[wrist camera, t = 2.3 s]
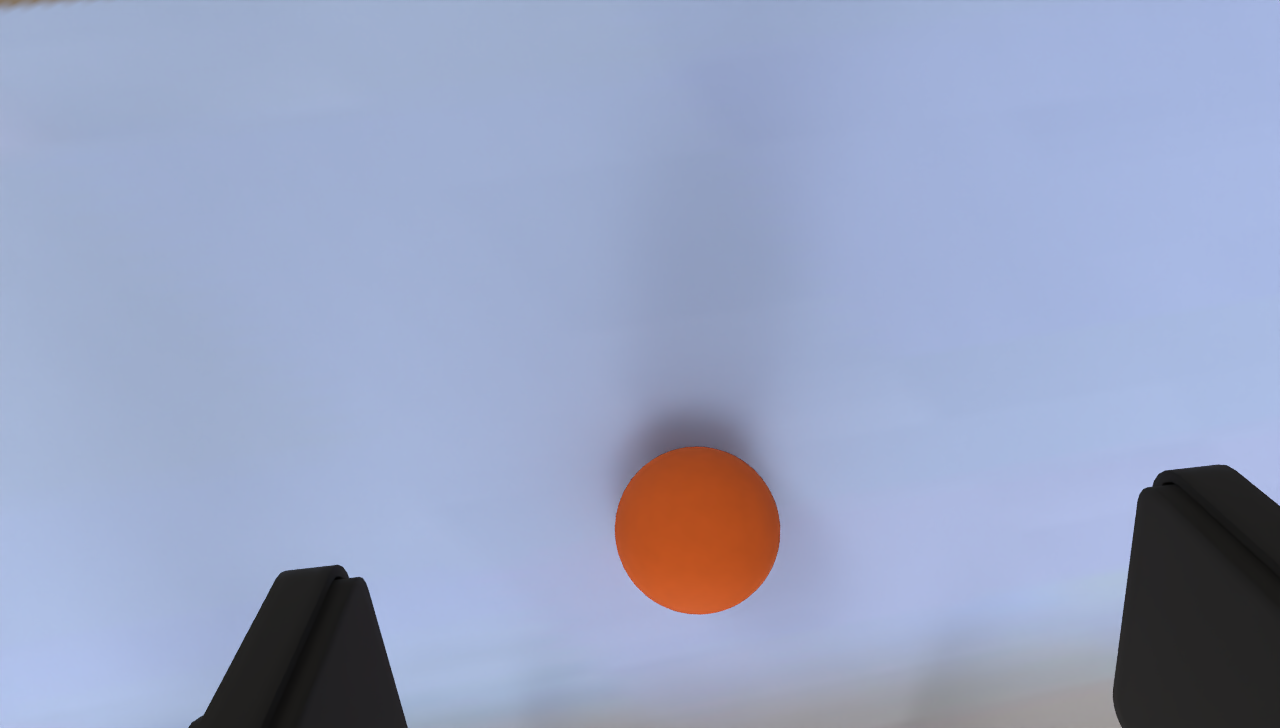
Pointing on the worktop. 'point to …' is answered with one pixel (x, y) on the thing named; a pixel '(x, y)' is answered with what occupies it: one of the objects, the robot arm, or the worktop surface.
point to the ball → (697, 530)
